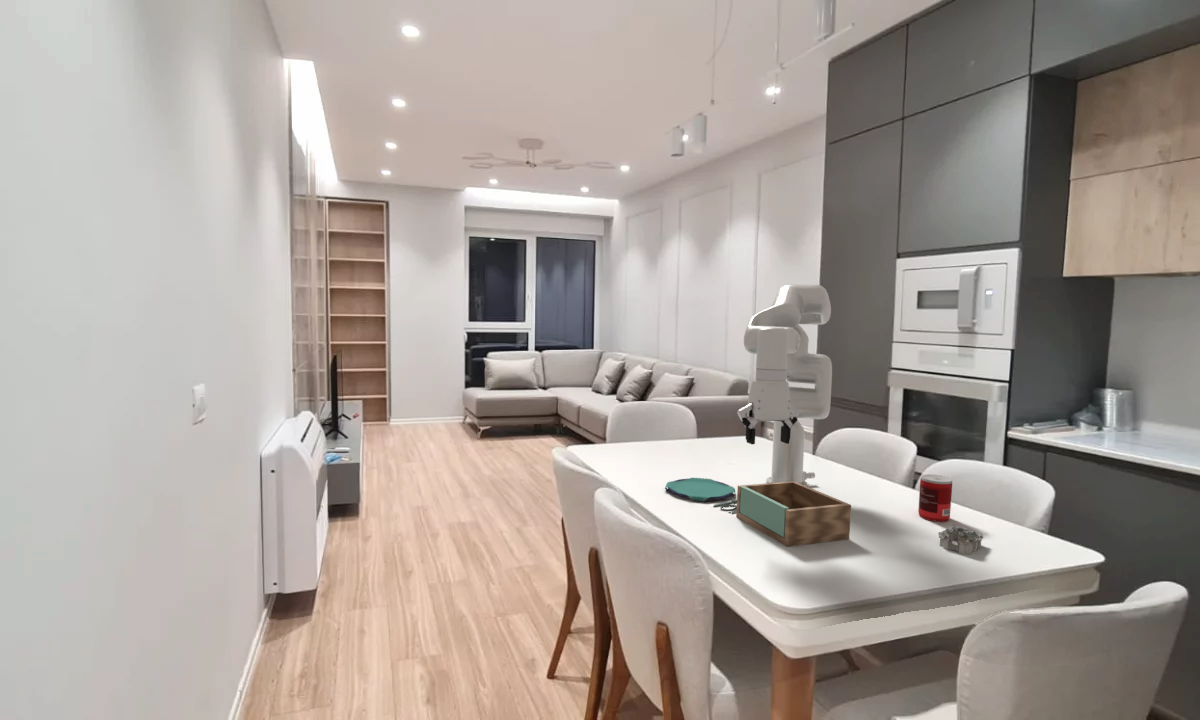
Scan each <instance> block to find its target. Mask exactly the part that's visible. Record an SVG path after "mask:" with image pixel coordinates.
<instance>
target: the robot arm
mask: <svg viewBox="0 0 1200 720" xmlns="http://www.w3.org/2000/svg"><path fill="white" fill-rule="evenodd" d="M831 315H832V307H831V301H830V297H829V294H828V291H827V289H826V288H825V286H824V287H823V286H822V285H820V284H788V285H784V286H782V287H781V288H779V290H778V291H777V293H776V295H775V297H774V300H773V302H772V306H771V307H768V308H766V309H764V310H761V311H760V312H758V313H756V314H755V315H753V316H752V317H751V318H750V320H749V321H748V324H747V325H746V329H745V331H744V335H743V347H744V349H745V350H746V352H747V353H749V354H753V355H756V361H755V363H756V364H755V380H752V381H751V384H750V389H749V393H748V400H747V405H745V406H743V407H741V408H739V409H737V410H736V413H737V416H738V418H739V420H740V422H741V423H742V424H743V426H744V428H745V440H746V443H747V444H749V445H755V444H756V428H755V427H756V425H757V424H758V423H759V422H773V434H772V435H773V436H772V437H773V439H772V458H771V459H772V461H771V476H769V477H767V478H766V480H765V482H766V483H777V482H789V481H795V482H797V483H800V484H802V485H805V486H807V487H808V482H807V481H806V480H808V479H815V478H816V473H815V472H814V471H812V472H807V471H804V457H805V456H804V453H805V439H806V438H805V435H806V434H805V429H804V427H803V425H802V424H801V423H800V421H799V420H798V419H802V418H803V419H810V420H811V419H812V420H824V419H826V418H828V416H829V414H830V412H831V401H832V400H831V399H832V383H833V381H832V379H833V363H832V359H831V358H830V357H829V356H828V355H826V354H822V353H809V343H810V342H809V341H810V339H809V335H808V334H807V332H806V331H805V330H804V329H803V327H802V326H801V325H813V326H814V325H819V326H821V325H825V324H826V323H828V322H829V321H830V318H831ZM789 383H794V384H806V385H809V384H810V385H814V386H815V388H813V387H811V388H810V387H801V386H800V387H799V386H790V385H789Z"/></svg>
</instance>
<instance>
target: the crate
mask: <svg viewBox="0 0 1200 720" xmlns="http://www.w3.org/2000/svg"><path fill="white" fill-rule="evenodd" d="M742 486H745V487H747V488H749V489H752V490H754V491H756V492H758V493H760V494H762V495H764V496H766V497H768V498H770V499H772V500H774V501H776V502H778V503H780V504H782V505H784V506H786V507H788V508H789V509H788V510H786V519H785V537H782V536H780V535H779V534H777V533H775V532H773V531H772V530H770V529H768V528H766V527H765V526H763V525H761V524H759V523H758V522H756V521H754V520H752V519H750V518H749V517H747V516H745V515H743V514H742V513H740V498H741V487H742ZM736 490H737V494H736V495H737V496H736V500H737V503H736V505H737V507H736V510H737V513H736V514H735V515H736V518H738V519H740V520H741V521H743V522H744V523H747V524H748V525H749V526H751V527H753V528H755V529H756V530H758V531H760V532H761V533H763V534H765V535H767V536H768V537H771V538H772V539H773V540H775V541H777V542H779V543H781V544H782V545H784V546H785V547H795V546H796V547H797V546H803V545H804V546H805V545H811V544H813V545H814V544H821V543H827V542H836V541H837V542H838V541H843V540H844V541H846V540H850V531H851V513H852V504H851V503H848V502H845V501H842V500H841V499H838V498H836V497H833V496H831V495H828V494H826V493H824V492H822V491H819V490H816V489H814V488H812V487H809V486H808V485H807V486H805V485H802V484H800V483H797V482H795V481H789V482H777V483H755V484H744V485H740V484H739V485H737V489H736Z"/></svg>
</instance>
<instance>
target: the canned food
mask: <svg viewBox="0 0 1200 720" xmlns="http://www.w3.org/2000/svg"><path fill="white" fill-rule="evenodd" d="M952 492H953V479H952V478H950V477H948V476H945V475H944V476H943V475H940V474H939V475H938V474H932V473H931V474H929V473H928V474H922V475H921V476H920V480H919V496H918V510H917V511H918V515H919V517H920V518H922V519H924V520H928V521H932V522H936V523H937V522H939V523H941V522H942V523H944V522H947V521H949V520H950V517H951V510H952V508H951V506H952V495H953V494H952Z"/></svg>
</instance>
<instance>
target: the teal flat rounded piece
mask: <svg viewBox="0 0 1200 720" xmlns="http://www.w3.org/2000/svg"><path fill="white" fill-rule="evenodd" d="M664 489H665V490H666V491H667V490H669V492H671V493H672V494H675V495H677V496H680V497H684V498H689V499H691V500H692V501H694V502H695V501H697V502H705V501H706V500H707V501H708V500H709V501H711V500H712V501H713V500H721V499H725V498H727V497H730V496H732V495H733V496H736V488H735V487H734V486H732V485H729V484H727V483H724V482H721V481H719V480H718V481H717V480H713V479H711V478H707V477H706V478H704V477H703V478H702V477H690V478H681V479H677V480H673V481H671V480H670V481H667V483H666V485H665V487H664ZM733 503H734V504H733ZM735 503H736V505H735ZM725 504H726V505H725ZM720 505H721V506H720ZM715 506H717V507H720V510H723V511H728V513H729V514H730V513H731V512H732V514H731V515H736V513H737V499H731V501H730V500H729V501H724V502H719V503H715V504H713V508H716V507H715ZM729 506H730V507H729ZM723 507H725V508H723ZM734 507H735V508H734ZM722 508H723V509H722ZM726 508H728V509H726Z"/></svg>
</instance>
